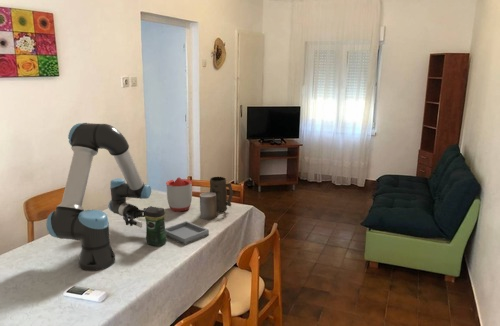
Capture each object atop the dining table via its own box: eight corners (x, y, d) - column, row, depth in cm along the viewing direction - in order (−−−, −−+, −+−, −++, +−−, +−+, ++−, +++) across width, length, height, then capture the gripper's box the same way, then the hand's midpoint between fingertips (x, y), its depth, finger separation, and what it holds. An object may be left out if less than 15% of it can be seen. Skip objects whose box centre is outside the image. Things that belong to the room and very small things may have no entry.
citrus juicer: (190, 202, 258) (189, 172, 254) (194, 211, 242) (193, 179, 237) (165, 205, 253) (164, 174, 249) (168, 214, 237) (167, 181, 233)
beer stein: (205, 210, 243) (207, 179, 238) (212, 205, 253) (213, 175, 248) (229, 215, 239) (231, 183, 234) (235, 209, 249) (237, 178, 244)
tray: (184, 244, 196) (184, 239, 195) (162, 234, 208) (162, 229, 207) (208, 235, 208) (208, 229, 207) (186, 226, 219) (186, 221, 219)
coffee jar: (169, 241, 200) (167, 206, 195) (159, 247, 192) (157, 211, 188) (153, 238, 203) (151, 203, 199) (143, 244, 196) (141, 208, 192)
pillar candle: (219, 214, 237) (218, 190, 234) (213, 220, 228) (212, 195, 224) (203, 213, 239) (202, 189, 236) (197, 219, 230) (196, 194, 227)
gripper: (149, 211, 222) (173, 221, 208) (108, 224, 204) (131, 235, 190) (148, 199, 220) (172, 207, 207) (106, 210, 202) (130, 220, 188)
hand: (152, 221), depth 198 cm, fingers open, 13 cm apart
